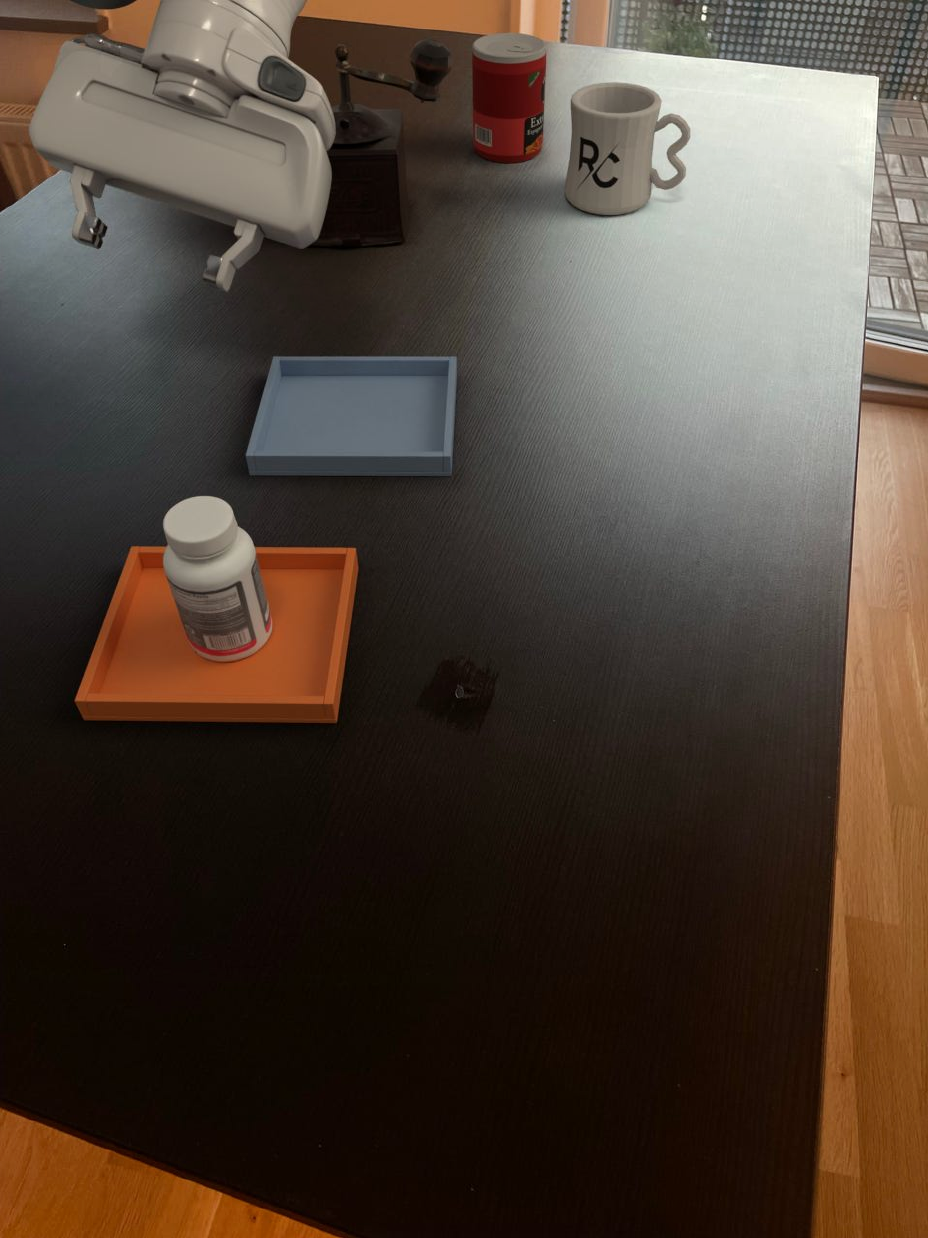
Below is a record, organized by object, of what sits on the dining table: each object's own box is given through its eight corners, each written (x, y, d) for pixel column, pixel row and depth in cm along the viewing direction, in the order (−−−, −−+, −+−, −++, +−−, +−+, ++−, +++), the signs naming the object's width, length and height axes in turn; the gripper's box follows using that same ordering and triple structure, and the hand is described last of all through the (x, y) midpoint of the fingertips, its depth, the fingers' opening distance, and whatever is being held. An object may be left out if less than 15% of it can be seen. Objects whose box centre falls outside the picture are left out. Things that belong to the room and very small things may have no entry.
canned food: (539, 165, 111) (543, 57, 103) (468, 162, 112) (466, 54, 104) (546, 137, 116) (550, 32, 108) (478, 134, 117) (477, 30, 109)
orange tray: (83, 720, 60) (74, 701, 58) (138, 566, 68) (131, 545, 67) (336, 723, 59) (333, 703, 58) (358, 567, 68) (356, 547, 67)
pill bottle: (219, 593, 66) (186, 477, 59) (289, 616, 64) (264, 500, 57) (171, 649, 63) (130, 534, 55) (244, 676, 61) (211, 561, 54)
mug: (554, 211, 103) (559, 110, 96) (575, 175, 109) (582, 76, 102) (672, 227, 100) (687, 124, 93) (688, 189, 106) (703, 89, 99)
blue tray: (249, 475, 75) (245, 455, 74) (276, 375, 84) (273, 355, 82) (451, 476, 74) (450, 456, 73) (457, 375, 83) (456, 356, 82)
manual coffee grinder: (300, 250, 99) (271, 51, 85) (312, 200, 106) (287, 9, 93) (456, 248, 98) (452, 48, 85) (457, 198, 106) (453, 7, 93)
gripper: (49, -4, 65) (-16, 199, 65) (345, 93, 65) (279, 296, 65) (87, 50, 71) (28, 234, 72) (357, 138, 71) (297, 323, 71)
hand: (150, 264), depth 68 cm, fingers open, 8 cm apart
